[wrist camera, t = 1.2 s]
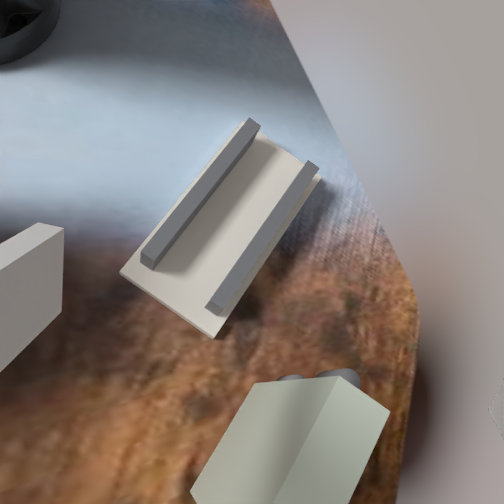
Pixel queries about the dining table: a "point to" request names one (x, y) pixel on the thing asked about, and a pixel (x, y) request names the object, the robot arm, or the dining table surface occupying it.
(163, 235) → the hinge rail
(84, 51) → the dining table surface
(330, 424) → the door
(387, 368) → the dining table surface
